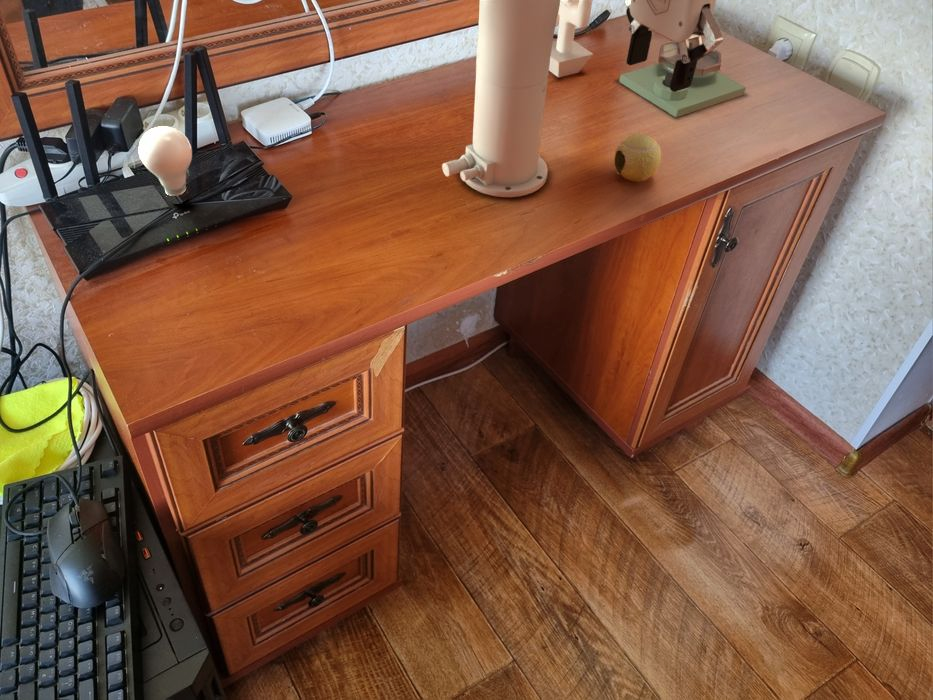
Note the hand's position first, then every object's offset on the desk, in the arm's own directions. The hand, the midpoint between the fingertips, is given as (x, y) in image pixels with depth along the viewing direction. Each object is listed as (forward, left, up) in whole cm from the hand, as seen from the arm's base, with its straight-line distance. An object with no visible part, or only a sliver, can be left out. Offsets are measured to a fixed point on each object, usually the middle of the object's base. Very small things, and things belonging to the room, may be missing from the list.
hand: (657, 74), depth 103 cm
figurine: (+12, +32, -16) cm, 38 cm away
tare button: (+21, +15, -13) cm, 29 cm away
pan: (+29, +19, -13) cm, 36 cm away
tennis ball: (0, 0, -16) cm, 16 cm away
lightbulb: (-58, +27, -16) cm, 66 cm away
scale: (+26, +17, -16) cm, 35 cm away
